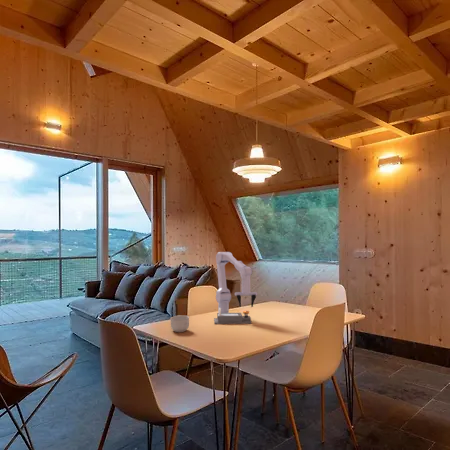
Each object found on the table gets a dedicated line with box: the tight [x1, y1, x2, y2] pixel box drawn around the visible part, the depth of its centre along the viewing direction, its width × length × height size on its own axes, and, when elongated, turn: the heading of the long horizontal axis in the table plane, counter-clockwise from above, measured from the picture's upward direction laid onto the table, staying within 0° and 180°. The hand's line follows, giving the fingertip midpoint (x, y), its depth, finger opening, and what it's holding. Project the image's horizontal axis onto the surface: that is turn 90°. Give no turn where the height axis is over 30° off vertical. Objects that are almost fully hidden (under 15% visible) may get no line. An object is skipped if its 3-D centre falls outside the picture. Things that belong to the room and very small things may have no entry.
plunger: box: [242, 310, 250, 317], centre depth 239 cm, size 4×4×3 cm
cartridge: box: [218, 308, 238, 316], centre depth 238 cm, size 6×13×7 cm, turn 94°
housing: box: [213, 312, 252, 325], centre depth 238 cm, size 12×23×5 cm, turn 94°
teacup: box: [169, 314, 190, 333], centre depth 216 cm, size 14×11×8 cm
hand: (246, 306), depth 239 cm, fingers open, 7 cm apart
